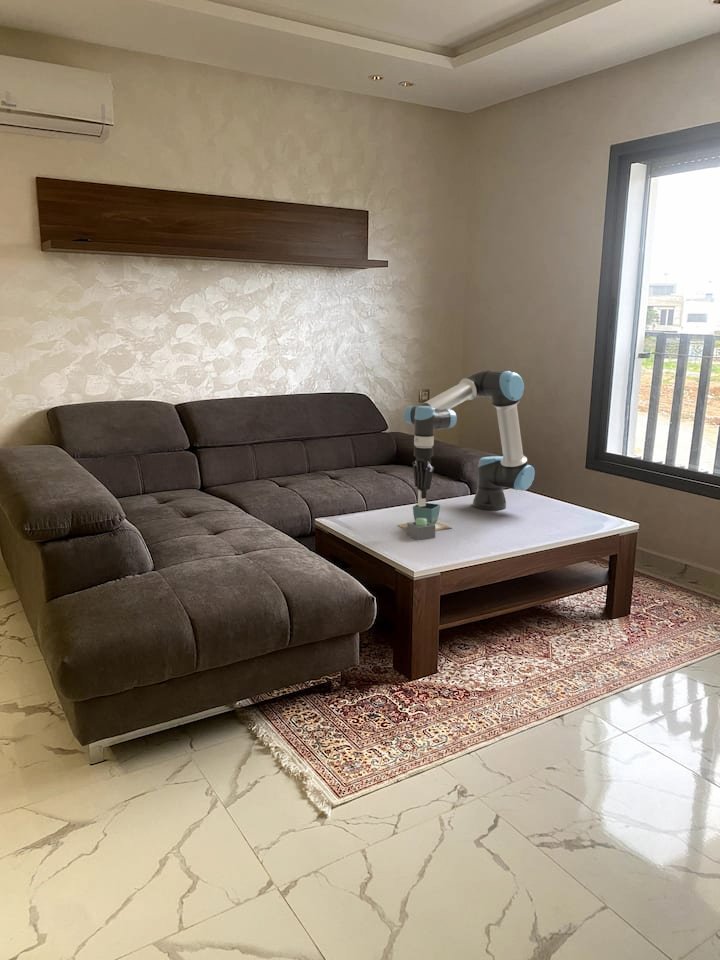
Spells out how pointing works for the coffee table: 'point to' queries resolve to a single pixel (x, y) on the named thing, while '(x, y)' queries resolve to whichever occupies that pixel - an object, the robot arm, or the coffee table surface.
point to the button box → (420, 531)
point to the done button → (421, 521)
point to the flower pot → (427, 512)
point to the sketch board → (438, 526)
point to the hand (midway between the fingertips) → (421, 505)
